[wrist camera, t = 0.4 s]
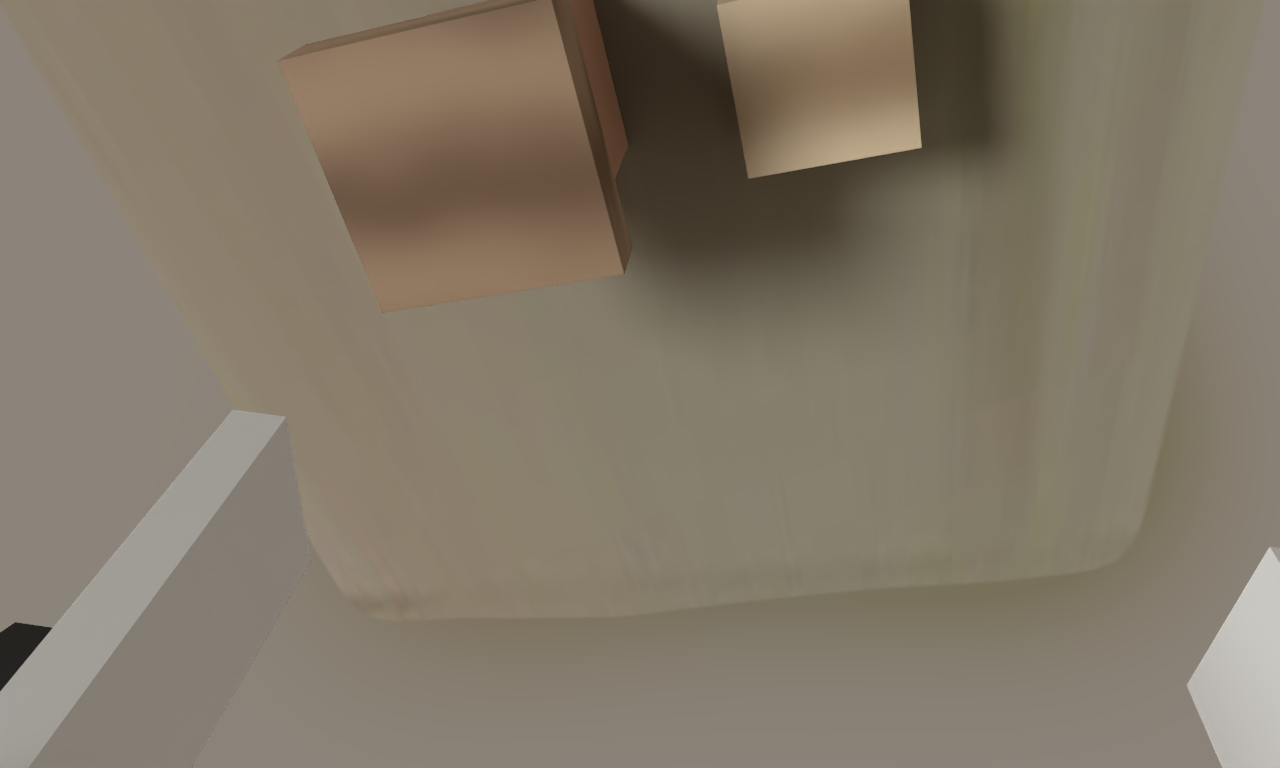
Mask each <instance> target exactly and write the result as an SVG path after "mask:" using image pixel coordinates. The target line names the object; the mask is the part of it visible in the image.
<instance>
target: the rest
mask: <svg viewBox="0 0 1280 768" xmlns="http://www.w3.org/2000/svg"><path fill="white" fill-rule="evenodd" d="M717 10H718V16H719V21H720V27H721V32H722V37H723V43H724V48H725V54H726V59H727V65H728V70H729V76H730V81H731V87H732V92H733V98H734V103H735V109H736V114H737V120H738V125H739V131H740V136H741V142H742V147H743V153H744V158H745V164H746V169H747V174H748V179H750V178H756V177H761V176H767V175H772V174H778V173H784V172H789V171H795V170H800V169H806V168H812V167H817V166H823V165H828V164H834V163H840V162H845V161H851V160H856V159H862V158H867V157H873V156H879V155H884V154H890V153H895V152H901V151H907V150H912V149H918V148H922V145H921V133H920V122H919V110H918V98H917V86H916V74H915V63H914V51H913V39H912V27H911V16H910V4H909V0H718V2H717Z"/></svg>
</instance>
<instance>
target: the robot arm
mask: <svg viewBox="0 0 1280 768" xmlns="http://www.w3.org/2000/svg"><path fill="white" fill-rule="evenodd" d="M310 562H311V561H310V554H309V548H308V542H307V536H306V531H305V525H304V519H303V513H302V507H301V501H300V495H299V489H298V483H297V477H296V471H295V465H294V459H293V453H292V448H291V442H290V436H289V430H288V424H287V418H286V417H284V416H276V415H269V414H261V413H254V412H246V411H238V410H232V411H231V412H230V414H229V415H228V416H227V417H226V419H225V420H224V421H223V422H222V423H221V424H220V426H219V427H218V428H217V429H216V431H215V432H214V433H213V434H212V435H211V437H210V438H209V439H208V440H207V441H206V443H205V444H204V445H203V446H202V447H201V449H200V450H199V451H198V452H197V454H196V455H195V456H194V457H193V458H192V460H191V461H190V462H189V463H188V465H187V466H186V467H185V468H184V470H183V471H182V472H181V473H180V474H179V475H178V477H177V478H176V479H175V480H174V482H173V483H172V484H171V485H170V486H169V488H168V489H167V490H166V491H165V492H164V494H163V495H162V496H161V497H160V498H159V500H158V501H157V502H156V503H155V504H154V506H153V507H152V508H151V509H150V511H149V512H148V513H147V514H146V515H145V517H144V518H143V519H142V520H141V521H140V523H139V524H138V525H137V526H136V528H135V529H134V530H133V531H132V532H131V534H130V535H129V536H128V537H127V539H126V540H125V541H124V542H123V543H122V545H121V546H120V547H119V548H118V549H117V551H116V552H115V553H114V554H113V556H112V557H111V558H110V559H109V560H108V562H107V563H106V564H105V565H104V566H103V568H102V569H101V570H100V571H99V572H98V574H97V575H96V576H95V577H94V579H93V580H92V581H91V582H90V583H89V585H88V586H87V587H86V588H85V589H84V591H83V592H82V593H81V594H80V595H79V597H78V598H77V599H76V600H75V602H74V603H73V604H72V605H71V606H70V608H69V609H68V610H67V611H66V612H65V614H64V615H63V616H62V617H61V619H60V620H59V621H58V622H57V624H56V625H55V626H54V627H53V628H50V627H43V626H35V625H29V624H22V623H14V624H12V625H11V626H9V627H8V628H7V629H5V630H4V631H2V632H0V768H192V767H193V765H194V764H195V762H196V760H197V758H198V757H199V755H200V753H201V751H202V750H203V748H204V746H205V745H206V743H207V741H208V739H209V738H210V736H211V734H212V732H213V731H214V729H215V727H216V725H217V724H218V722H219V720H220V718H221V717H222V715H223V713H224V711H225V710H226V708H227V706H228V705H229V703H230V701H231V699H232V698H233V696H234V694H235V692H236V691H237V689H238V687H239V685H240V684H241V682H242V680H243V678H244V677H245V675H246V673H247V671H248V670H249V668H250V666H251V665H252V663H253V661H254V659H255V658H256V656H257V654H258V652H259V651H260V649H261V647H262V645H263V644H264V642H265V640H266V639H267V636H268V635H269V633H270V632H271V630H272V628H273V626H274V624H275V623H276V621H277V619H278V618H279V616H280V614H281V612H282V611H283V609H284V607H285V605H286V604H287V602H288V600H289V599H290V597H291V595H292V593H293V591H294V590H295V588H296V586H297V584H298V583H299V581H300V579H301V578H302V576H303V574H304V572H305V571H306V569H307V567H308V566H309V564H310ZM1187 687H1188V689H1189V692H1190V694H1191V697H1192V699H1193V701H1194V703H1195V706H1196V708H1197V710H1198V713H1199V715H1200V717H1201V720H1202V722H1203V724H1204V727H1205V729H1206V731H1207V733H1208V736H1209V738H1210V740H1211V743H1212V745H1213V747H1214V750H1215V752H1216V754H1217V757H1218V759H1219V761H1220V763H1221V766H1222V768H1280V548H1276V547H1269V549H1268V550H1267V552H1266V554H1265V555H1264V557H1263V559H1262V561H1261V562H1260V564H1259V565H1258V567H1257V569H1256V570H1255V572H1254V574H1253V576H1252V577H1251V579H1250V580H1249V582H1248V584H1247V585H1246V587H1245V589H1244V591H1243V592H1242V594H1241V596H1240V597H1239V599H1238V601H1237V602H1236V604H1235V606H1234V607H1233V609H1232V611H1231V612H1230V614H1229V616H1228V617H1227V619H1226V621H1225V622H1224V624H1223V626H1222V627H1221V629H1220V631H1219V632H1218V634H1217V636H1216V637H1215V639H1214V641H1213V642H1212V644H1211V646H1210V647H1209V649H1208V651H1207V652H1206V654H1205V656H1204V657H1203V659H1202V661H1201V662H1200V664H1199V666H1198V667H1197V669H1196V671H1195V672H1194V674H1193V676H1192V677H1191V679H1190V681H1189V682H1188V684H1187Z"/></svg>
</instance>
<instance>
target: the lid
mask: <svg viewBox="0 0 1280 768" xmlns="http://www.w3.org/2000/svg"><path fill="white" fill-rule="evenodd" d="M278 63H279V65H280V68H281V70H282V73H283V75H284V77H285V80H286V82H287V85H288V87H289V89H290V92H291V94H292V97H293V99H294V101H295V104H296V106H297V109H298V111H299V113H300V116H301V118H302V121H303V123H304V126H305V128H306V130H307V133H308V135H309V138H310V140H311V142H312V145H313V147H314V150H315V152H316V154H317V157H318V159H319V162H320V164H321V166H322V169H323V171H324V174H325V176H326V178H327V181H328V183H329V186H330V188H331V190H332V193H333V195H334V198H335V200H336V202H337V205H338V207H339V210H340V212H341V214H342V217H343V219H344V222H345V224H346V226H347V229H348V231H349V234H350V236H351V238H352V241H353V243H354V246H355V248H356V251H357V253H358V255H359V258H360V260H361V263H362V265H363V267H364V270H365V272H366V275H367V277H368V279H369V282H370V284H371V287H372V289H373V291H374V294H375V296H376V299H377V301H378V303H379V306H380V308H381V311H382V313H385V312H392V311H398V310H404V309H410V308H416V307H423V306H429V305H435V304H441V303H447V302H454V301H460V300H466V299H472V298H479V297H485V296H491V295H497V294H503V293H510V292H516V291H522V290H528V289H534V288H541V287H547V286H553V285H559V284H566V283H572V282H578V281H584V280H590V279H597V278H603V277H609V276H615V275H621V274H624V273H625V270H626V266H627V263H628V260H629V257H630V254H631V250H632V244H631V240H630V236H629V233H628V229H627V225H626V221H625V217H624V213H623V209H622V205H621V201H620V197H619V194H618V190H617V186H616V182H615V178H614V174H613V170H612V166H611V162H610V158H609V155H608V151H607V147H606V143H605V139H604V135H603V131H602V127H601V123H600V119H599V116H598V112H597V108H596V104H595V100H594V96H593V92H592V88H591V84H590V80H589V77H588V73H587V69H586V65H585V61H584V57H583V53H582V49H581V45H580V42H579V38H578V34H577V30H576V26H575V22H574V18H573V14H572V10H571V6H570V3H569V0H493V1H489V2H484V3H480V4H476V5H472V6H467V7H463V8H459V9H455V10H450V11H446V12H442V13H438V14H433V15H429V16H425V17H421V18H416V19H412V20H408V21H404V22H399V23H395V24H391V25H387V26H382V27H378V28H374V29H370V30H365V31H361V32H357V33H353V34H348V35H344V36H340V37H336V38H331V39H327V40H323V41H319V42H314V43H310V44H306V45H304V46H303V47H301V48H299V49H297V50H296V51H294V52H292V53H290V54H289V55H287V56H285V57H283V58H282V59H280V60H278Z"/></svg>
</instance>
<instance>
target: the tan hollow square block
mask: <svg viewBox="0 0 1280 768" xmlns="http://www.w3.org/2000/svg"><path fill="white" fill-rule="evenodd" d="M490 1H493V0H490ZM486 2H489V1H486ZM482 3H484V2H482ZM569 3H570V6H571V10H572V14H573V18H574V22H575V26H576V30H577V34H578V38H579V42H580V45H581V49H582V53H583V57H584V61H585V65H586V69H587V73H588V77H589V80H590V84H591V88H592V92H593V96H594V100H595V104H596V108H597V112H598V116H599V119H600V123H601V127H602V131H603V135H604V139H605V143H606V147H607V151H608V155H609V158H610V162H611V166H612V170H613V174H614V178H615V177H616V175H617V173H618V170H619V168H620V165H621V163H622V160H623V158H624V155H625V153H626V151H627V148H628V146H629V145H628V141H627V137H626V133H625V129H624V125H623V121H622V117H621V113H620V108H619V104H618V100H617V96H616V92H615V88H614V84H613V80H612V76H611V72H610V68H609V63H608V59H607V55H606V51H605V47H604V43H603V39H602V35H601V31H600V27H599V22H598V18H597V14H596V10H595V6H594V2H593V0H569ZM477 4H480V3H477ZM473 5H476V4H473ZM469 6H472V5H469ZM465 7H467V6H465ZM460 8H463V7H460ZM456 9H459V8H456ZM452 10H455V9H452ZM448 11H450V10H448ZM443 12H446V11H443ZM439 13H442V12H439ZM435 14H438V13H435ZM431 15H433V14H431ZM427 16H429V15H427Z"/></svg>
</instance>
